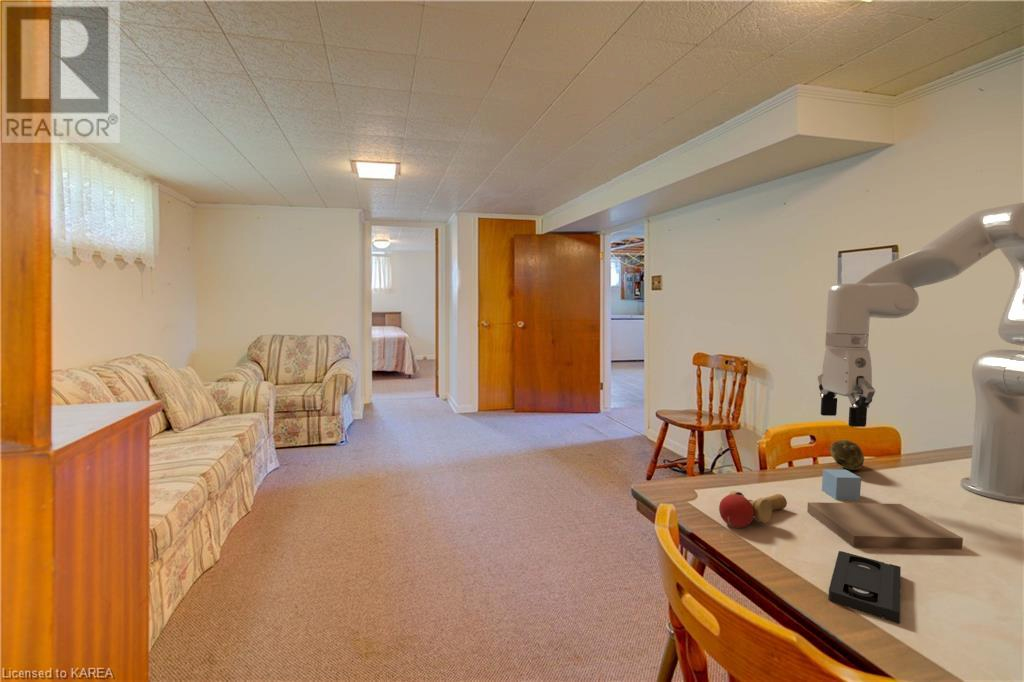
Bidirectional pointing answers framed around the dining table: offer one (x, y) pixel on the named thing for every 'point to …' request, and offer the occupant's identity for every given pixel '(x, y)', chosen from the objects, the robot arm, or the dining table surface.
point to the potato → (847, 454)
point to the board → (883, 526)
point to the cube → (841, 484)
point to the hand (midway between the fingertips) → (842, 420)
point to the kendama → (748, 508)
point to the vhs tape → (866, 586)
